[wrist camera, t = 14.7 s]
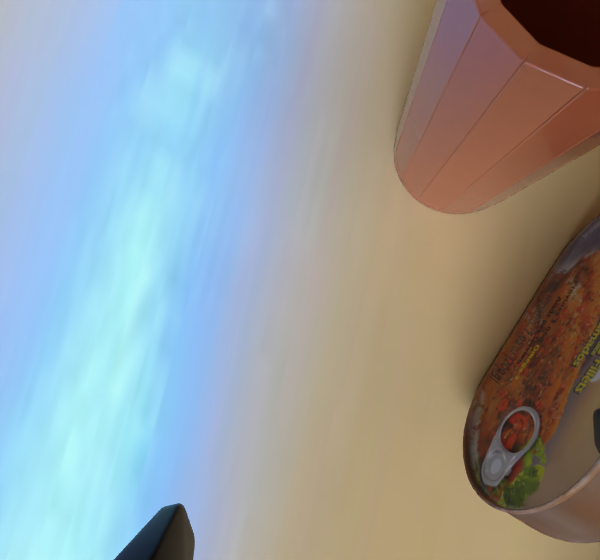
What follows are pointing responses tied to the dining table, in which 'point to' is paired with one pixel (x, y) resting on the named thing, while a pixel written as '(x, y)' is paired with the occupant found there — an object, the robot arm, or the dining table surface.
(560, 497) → the tin
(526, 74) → the pot
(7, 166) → the dining table surface
